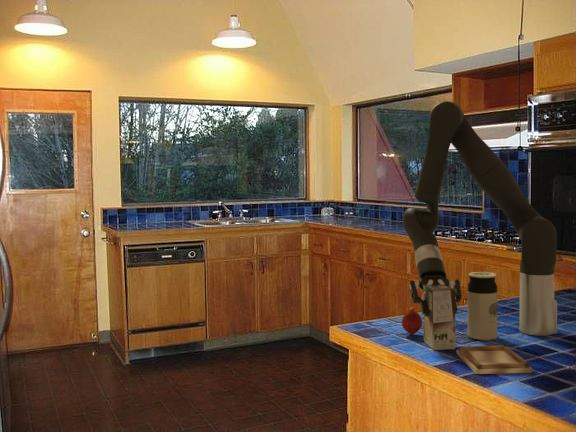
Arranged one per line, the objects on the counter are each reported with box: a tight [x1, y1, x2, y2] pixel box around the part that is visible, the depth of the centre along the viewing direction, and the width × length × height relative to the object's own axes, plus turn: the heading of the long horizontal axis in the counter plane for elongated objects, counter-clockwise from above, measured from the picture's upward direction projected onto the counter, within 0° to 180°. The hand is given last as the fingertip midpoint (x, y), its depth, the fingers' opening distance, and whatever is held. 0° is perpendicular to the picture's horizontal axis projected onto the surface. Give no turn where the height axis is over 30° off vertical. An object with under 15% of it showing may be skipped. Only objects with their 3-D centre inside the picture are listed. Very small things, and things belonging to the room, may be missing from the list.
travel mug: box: [467, 271, 498, 341], centre depth 172 cm, size 8×8×18 cm
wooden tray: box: [456, 344, 533, 375], centre depth 150 cm, size 13×16×2 cm
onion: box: [401, 306, 423, 336], centre depth 176 cm, size 6×6×8 cm
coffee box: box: [422, 284, 456, 351], centre depth 165 cm, size 9×6×16 cm
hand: (440, 314), depth 163 cm, fingers closed on coffee box, 6 cm apart
